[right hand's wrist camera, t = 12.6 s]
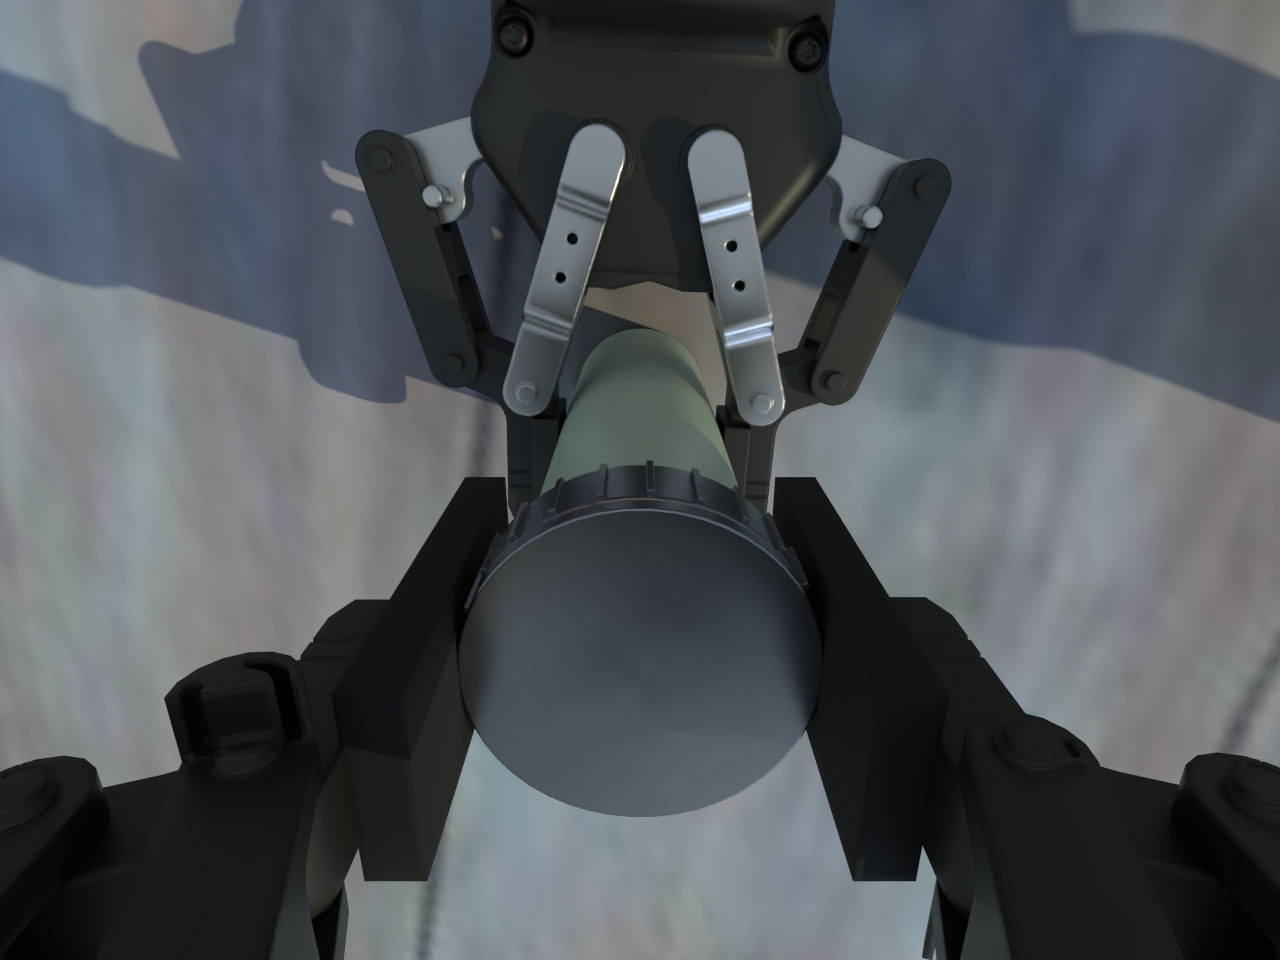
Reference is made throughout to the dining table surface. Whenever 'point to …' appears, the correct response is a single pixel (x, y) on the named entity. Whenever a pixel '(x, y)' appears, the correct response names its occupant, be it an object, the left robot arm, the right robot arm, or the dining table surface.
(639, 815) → the lid
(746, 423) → the left robot arm
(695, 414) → the bottle
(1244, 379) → the dining table surface
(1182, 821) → the right robot arm
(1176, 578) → the dining table surface
